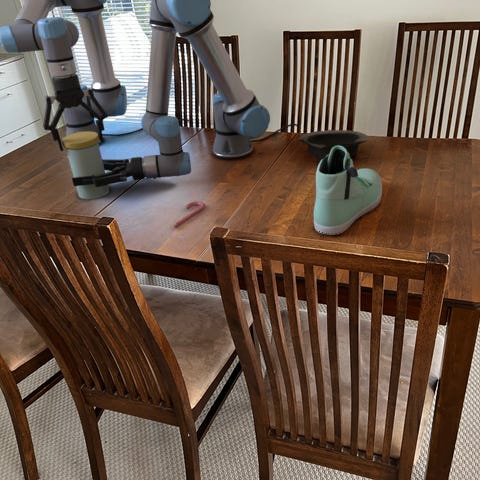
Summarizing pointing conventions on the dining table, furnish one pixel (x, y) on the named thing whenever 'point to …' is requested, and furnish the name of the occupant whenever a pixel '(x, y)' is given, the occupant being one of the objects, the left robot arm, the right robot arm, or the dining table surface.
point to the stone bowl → (333, 142)
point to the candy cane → (194, 213)
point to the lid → (80, 140)
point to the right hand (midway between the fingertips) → (76, 175)
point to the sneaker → (343, 192)
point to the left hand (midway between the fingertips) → (82, 145)
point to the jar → (87, 169)
